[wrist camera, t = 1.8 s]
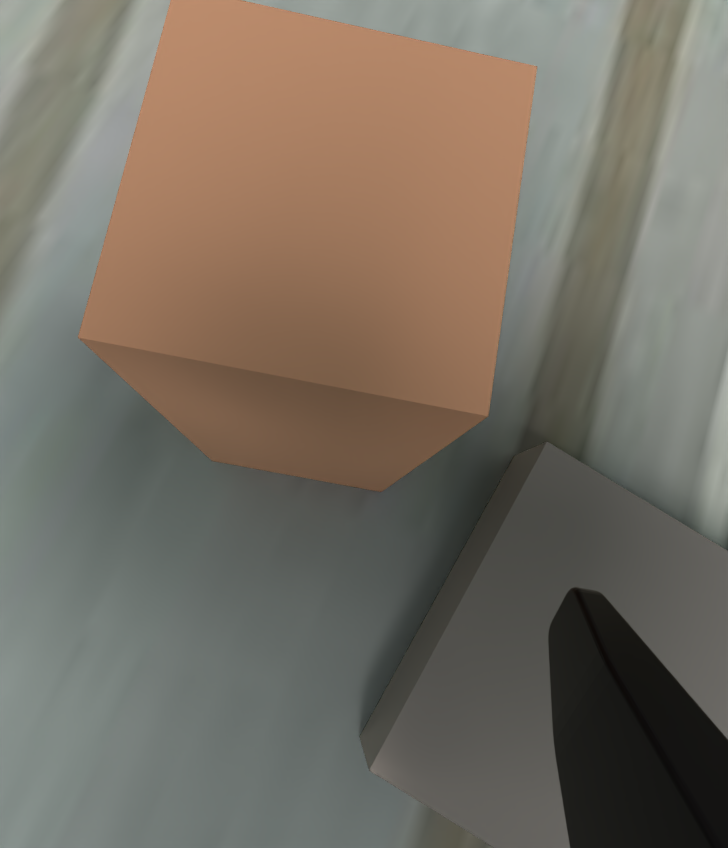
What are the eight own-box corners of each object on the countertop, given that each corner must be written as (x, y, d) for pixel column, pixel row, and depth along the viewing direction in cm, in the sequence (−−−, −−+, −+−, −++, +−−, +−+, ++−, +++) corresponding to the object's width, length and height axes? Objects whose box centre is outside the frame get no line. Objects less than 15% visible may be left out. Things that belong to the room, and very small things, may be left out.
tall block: (381, 492, 21) (488, 415, 9) (212, 461, 21) (78, 337, 8) (408, 332, 22) (536, 66, 10) (247, 300, 22) (174, -14, 10)
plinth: (646, 914, 19) (708, 980, 16) (359, 736, 20) (369, 770, 17) (775, 614, 21) (850, 624, 18) (514, 455, 22) (547, 441, 19)
